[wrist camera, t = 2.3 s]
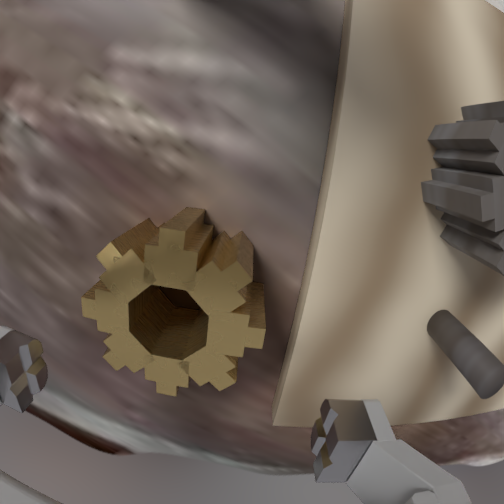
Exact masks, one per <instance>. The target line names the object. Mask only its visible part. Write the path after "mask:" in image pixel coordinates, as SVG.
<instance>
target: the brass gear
mask: <svg viewBox="0 0 504 504" xmlns="http://www.w3.org/2000/svg"><path fill="white" fill-rule="evenodd" d="M204 215H205V209H197V208H189V207H186V208H185V209H184V210H182V211H181V212H180V213H178V214H177V215H176V216H174V217H173V218H172V219H170V220H169V221H168V222H167V223H163V224H162V225H161V226H159V227H158V228H156V227H155V225H154V224H153V223H152V222H151V220H150V219H149V218H148V219H146V220H145V221H143V222H142V223H140V224H138V225H137V226H135V227H134V228H132V229H130V230H129V231H127V232H126V233H124V234H122V235H121V236H119V237H118V238H116V239H115V240H113V241H112V242H110V243H109V244H108V245H107V246H106V247H105V248H104V249H103V250H102V251H101V252H100V253H99V254H98V255H97V256H96V257H97V258H98V260H99V261H100V262H101V263H102V265H103V266H104V267H105V268H106V271H105V272H104V273H103V274H102V275H101V276H100V277H99V278H100V279H101V280H100V281H99V282H98V283H96V284H95V285H94V286H93V287H92V288H91V289H90V290H89V291H87V292H86V293H85V294H84V295H83V296H82V297H81V300H82V312H83V317H87V318H91V319H95V320H97V328H98V331H103V332H107V333H109V334H108V336H107V337H106V338H105V340H104V341H103V342H104V343H105V344H106V345H107V346H108V347H109V348H108V349H107V351H106V352H105V354H104V355H103V356H102V357H103V358H104V359H105V360H106V361H107V362H108V363H109V364H110V365H111V366H112V367H113V368H114V369H115V370H116V371H117V370H119V369H121V368H122V367H124V366H125V365H126V366H127V367H128V368H129V369H130V370H131V371H132V372H133V373H135V372H137V371H138V370H140V369H142V368H143V367H145V379H146V380H150V381H155V382H156V390H157V393H160V394H165V395H170V396H177V392H178V389H179V386H180V387H186V388H188V386H189V382H190V378H192V379H193V380H194V381H195V382H196V383H197V384H198V385H199V386H202V385H204V384H205V383H207V382H210V383H211V384H212V385H213V386H214V387H215V388H217V389H218V390H219V391H221V390H223V389H225V388H227V387H229V386H230V385H232V384H234V383H236V379H237V366H238V357H243V353H244V347H249V348H257V349H262V347H263V342H264V337H265V332H266V322H265V305H264V289H263V283H256V282H252V281H253V245H252V243H251V242H250V241H249V239H248V238H247V237H246V235H245V234H244V233H243V232H242V231H241V232H240V233H238V234H237V235H236V236H234V237H233V238H232V239H230V238H229V236H228V235H227V234H226V232H225V231H223V232H222V233H221V234H219V235H218V236H217V237H215V238H214V239H213V240H212V238H213V229H214V225H211V224H204ZM159 286H163V287H169V288H175V289H181V290H186V291H187V292H188V293H189V294H190V296H191V297H192V298H193V299H194V300H195V301H196V302H197V304H198V305H199V306H200V307H201V308H202V309H200V310H194V309H187V308H181V307H175V306H174V305H173V304H172V303H171V302H170V300H169V299H168V298H167V297H166V296H165V295H164V293H163V292H162V291H161V290H160V289H159Z"/></svg>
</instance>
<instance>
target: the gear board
mask: <svg viewBox="0 0 504 504" xmlns="http://www.w3.org/2000/svg"><path fill="white" fill-rule="evenodd" d="M325 399H348V400H361V399H377V400H379V401H380V403H381V405H382V407H383V409H384V412H385V414H386V416H387V419H388V421H389V423H390V426H393V425H405V424H415V423H424V422H432V421H439V420H446V419H453V418H459V417H464V416H470V415H475V414H480V413H485V412H490V411H494V410H498V409H503V408H504V13H503V12H501V11H500V10H498V9H497V8H496V7H494V6H492V5H491V4H489V3H488V2H486V1H485V0H345V8H344V19H343V29H342V39H341V48H340V57H339V66H338V74H337V82H336V90H335V97H334V105H333V112H332V119H331V126H330V132H329V139H328V145H327V151H326V158H325V164H324V170H323V176H322V181H321V187H320V193H319V198H318V204H317V209H316V215H315V220H314V225H313V230H312V236H311V241H310V246H309V251H308V256H307V260H306V265H305V270H304V275H303V279H302V284H301V289H300V293H299V298H298V302H297V307H296V311H295V315H294V320H293V324H292V328H291V332H290V337H289V341H288V345H287V349H286V353H285V357H284V361H283V365H282V369H281V373H280V377H279V381H278V385H277V388H276V392H275V396H274V400H273V403H272V423H273V426H288V427H313V426H314V423H315V420H317V419H318V418H320V417H321V413H320V408H321V405H322V403H323V401H324V400H325Z"/></svg>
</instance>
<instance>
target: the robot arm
mask: <svg viewBox="0 0 504 504" xmlns="http://www.w3.org/2000/svg"><path fill="white" fill-rule="evenodd" d="M42 354H43V348H42V344H41V342H40V341H38V340H37V339H35V338H33V337H30V336H28V335H25V334H23V333H21V332H18V331H16V330H13V329H11V328H9V327H7V326H0V406H1V405H2V403H3V404H5V405H6V406H8V407H11V408H12V409H15V410H17V411H19V412H21V413H23V412H24V411H25V409H26V408H27V407H28V406H29V405H30V403H31V402H32V401H33V394H35V393H38V392H40V391H41V390H42V389H43V388H44V386H45V384H46V381H47V378H48V370H47V366H46V363H45V362H44V360H43V359H42V357H41V356H42ZM320 413H321V417H320V418H318V419H317V420H315V423H314V426H313V428H312V434H311V450H312V452H313V453H314V454H315V455H316V456H317V457H316V459H315V461H314V463H313V465H314V472H315V479H316V482H346V484H347V485H348V487H349V488H350V489H351V490H352V491H353V492H354V493H355V494H356V496H357V497H358V498H359V499H360V500H361V501H362V502H363V503H364V504H472V503H471V500H470V498H469V496H468V494H467V492H466V490H465V488H464V486H463V483H462V482H461V481H460V480H459V479H457V478H456V477H454V476H453V475H451V474H450V473H448V472H447V471H445V470H444V469H442V468H441V467H439V466H438V465H437V464H435V463H434V462H432V461H431V460H429V459H428V458H426V457H425V456H424V455H422V454H421V453H419V452H418V451H417V450H415V449H414V448H412V447H411V446H410V445H408V444H407V443H405V442H404V441H403V440H401V439H399V440H396V438H395V435H394V433H393V430H392V428H391V426H390V423H389V421H388V419H387V416H386V414H385V412H384V409H383V407H382V405H381V403H380V401H379V400H377V399H361V400H348V399H325V400H324V401H323V403H322V405H321V408H320ZM0 504H62V503H60V502H58V501H56V500H54V499H52V498H50V497H48V496H46V495H44V494H42V493H40V492H38V491H36V490H34V489H32V488H30V487H29V486H27V485H25V484H23V483H21V482H20V481H18V480H16V479H14V478H13V477H11V476H10V475H8V474H6V473H5V472H3V471H1V470H0Z"/></svg>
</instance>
